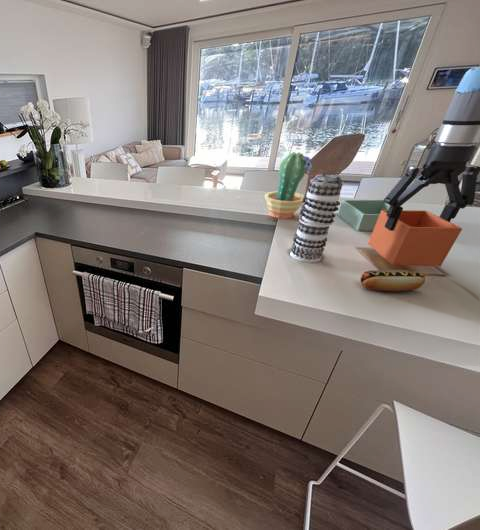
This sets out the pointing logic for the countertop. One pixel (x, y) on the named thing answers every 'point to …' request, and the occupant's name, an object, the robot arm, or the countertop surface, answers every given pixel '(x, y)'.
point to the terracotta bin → (414, 238)
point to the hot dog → (392, 280)
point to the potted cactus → (288, 186)
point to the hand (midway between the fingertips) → (413, 229)
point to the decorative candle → (316, 217)
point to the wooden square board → (386, 265)
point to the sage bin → (362, 213)
